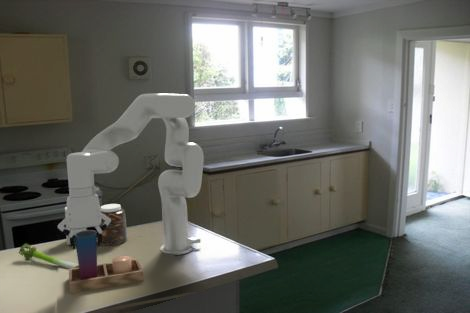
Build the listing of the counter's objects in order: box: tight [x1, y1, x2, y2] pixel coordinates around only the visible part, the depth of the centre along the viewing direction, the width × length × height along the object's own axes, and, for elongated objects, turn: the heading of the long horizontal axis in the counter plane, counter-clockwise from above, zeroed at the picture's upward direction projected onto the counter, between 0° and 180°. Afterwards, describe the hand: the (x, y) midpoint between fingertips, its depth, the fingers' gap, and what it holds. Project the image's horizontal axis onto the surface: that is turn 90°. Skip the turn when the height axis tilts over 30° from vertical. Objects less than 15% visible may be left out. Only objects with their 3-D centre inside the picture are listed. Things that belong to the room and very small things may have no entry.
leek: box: [18, 243, 79, 270], centre depth 159 cm, size 6×7×30 cm
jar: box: [100, 203, 128, 247], centre depth 182 cm, size 12×12×15 cm
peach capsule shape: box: [112, 255, 132, 275], centre depth 143 cm, size 6×6×6 cm
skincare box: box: [64, 206, 88, 246], centre depth 182 cm, size 8×6×15 cm
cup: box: [74, 229, 98, 280], centre depth 139 cm, size 7×7×15 cm
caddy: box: [68, 258, 144, 294], centre depth 142 cm, size 22×12×4 cm, turn 111°
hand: (86, 246), depth 139 cm, fingers closed on cup, 6 cm apart
